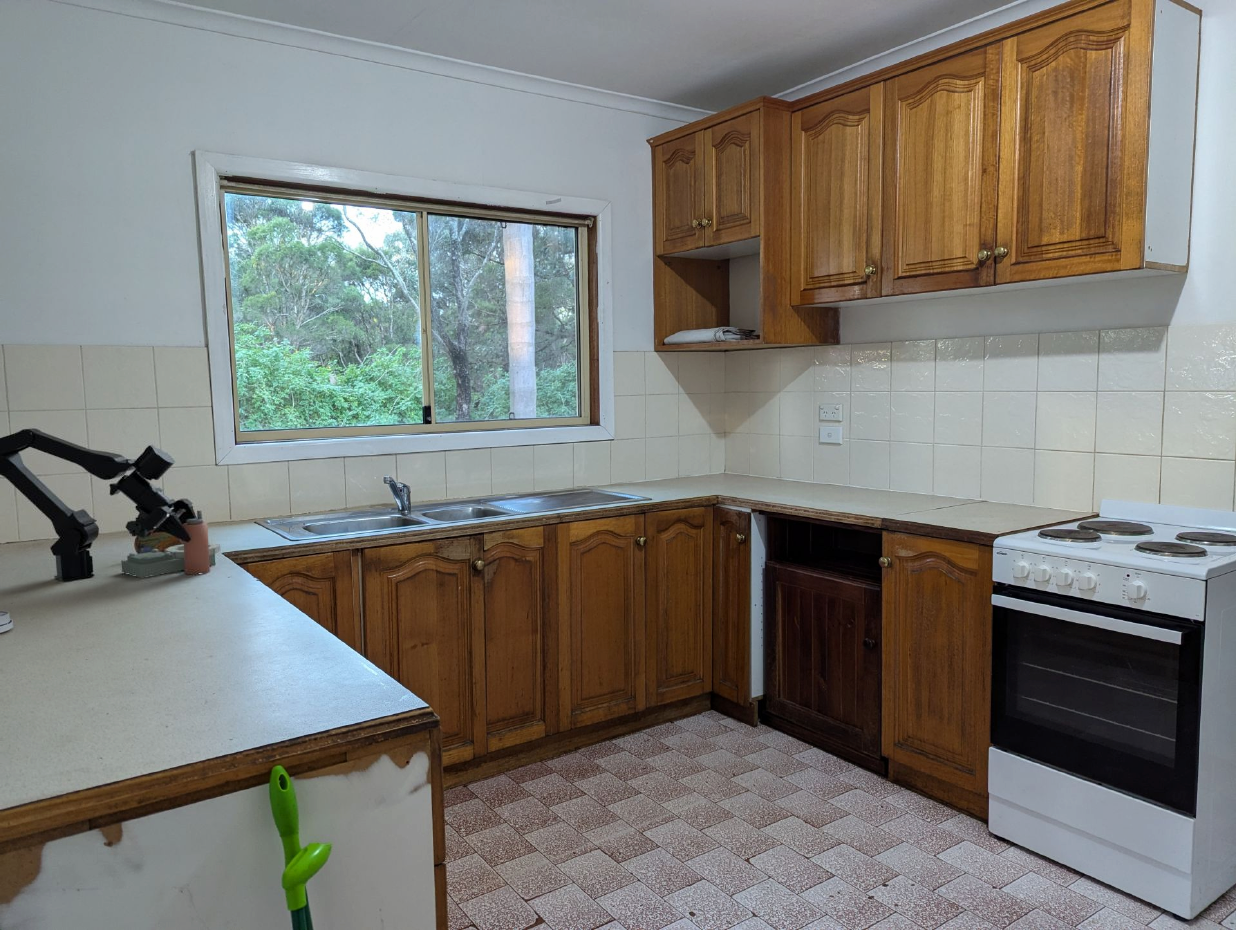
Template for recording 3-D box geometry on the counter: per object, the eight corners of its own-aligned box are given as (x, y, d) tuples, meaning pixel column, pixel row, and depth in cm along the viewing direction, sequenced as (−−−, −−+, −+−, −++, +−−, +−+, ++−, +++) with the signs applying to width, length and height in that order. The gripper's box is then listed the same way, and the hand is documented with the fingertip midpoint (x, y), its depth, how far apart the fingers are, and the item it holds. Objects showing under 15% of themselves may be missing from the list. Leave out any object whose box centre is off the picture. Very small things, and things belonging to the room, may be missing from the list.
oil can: (192, 575, 204) (188, 513, 202) (181, 573, 207) (177, 511, 206) (214, 571, 208) (210, 510, 207) (203, 569, 211) (199, 509, 210)
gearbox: (142, 578, 201) (141, 558, 201) (120, 572, 209) (119, 553, 208) (228, 563, 218) (227, 544, 217) (205, 558, 225) (204, 540, 225)
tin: (139, 562, 221) (136, 530, 220) (133, 560, 223) (131, 529, 222) (196, 552, 233) (195, 522, 232) (191, 551, 235) (189, 521, 234)
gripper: (135, 513, 213) (185, 554, 216) (103, 524, 194) (158, 569, 197) (167, 480, 213) (216, 522, 216) (137, 489, 195) (192, 534, 198)
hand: (195, 537), depth 207 cm, fingers open, 9 cm apart
